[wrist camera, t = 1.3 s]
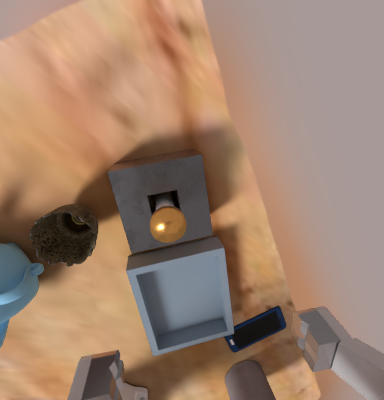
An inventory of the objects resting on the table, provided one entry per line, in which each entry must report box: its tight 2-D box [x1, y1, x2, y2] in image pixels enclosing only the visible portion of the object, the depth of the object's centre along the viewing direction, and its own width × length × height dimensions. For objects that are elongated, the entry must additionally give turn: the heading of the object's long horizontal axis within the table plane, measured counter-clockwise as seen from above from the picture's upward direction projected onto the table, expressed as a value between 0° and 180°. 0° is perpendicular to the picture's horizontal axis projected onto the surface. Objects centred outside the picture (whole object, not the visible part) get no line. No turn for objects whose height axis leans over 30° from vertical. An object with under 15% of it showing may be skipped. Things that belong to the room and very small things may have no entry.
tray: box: [126, 236, 234, 357], centre depth 41 cm, size 20×16×4 cm
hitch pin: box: [150, 191, 187, 243], centre depth 30 cm, size 4×4×12 cm
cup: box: [29, 204, 98, 267], centre depth 31 cm, size 8×7×8 cm
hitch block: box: [107, 149, 213, 253], centre depth 33 cm, size 12×12×6 cm
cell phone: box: [224, 306, 286, 352], centre depth 50 cm, size 7×14×1 cm, turn 113°
